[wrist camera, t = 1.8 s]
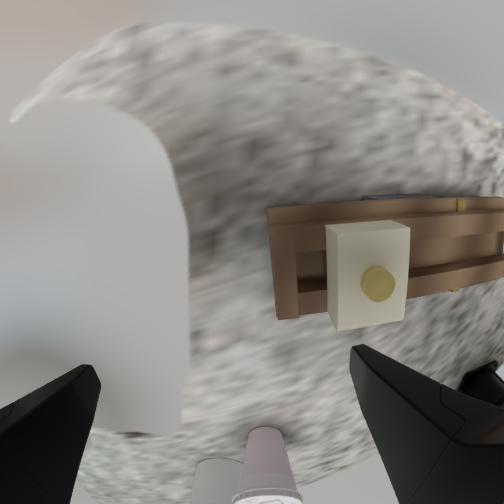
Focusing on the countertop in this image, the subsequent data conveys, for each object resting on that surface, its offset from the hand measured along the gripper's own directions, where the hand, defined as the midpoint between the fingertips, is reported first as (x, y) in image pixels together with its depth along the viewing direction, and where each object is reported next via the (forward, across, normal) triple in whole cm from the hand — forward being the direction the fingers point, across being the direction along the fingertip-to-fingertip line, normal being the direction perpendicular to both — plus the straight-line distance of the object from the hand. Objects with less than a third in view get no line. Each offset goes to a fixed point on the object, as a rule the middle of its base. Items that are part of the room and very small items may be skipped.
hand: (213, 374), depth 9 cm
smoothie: (+14, 0, +21) cm, 25 cm away
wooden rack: (+13, -13, 0) cm, 18 cm away
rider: (+9, -8, 0) cm, 12 cm away
